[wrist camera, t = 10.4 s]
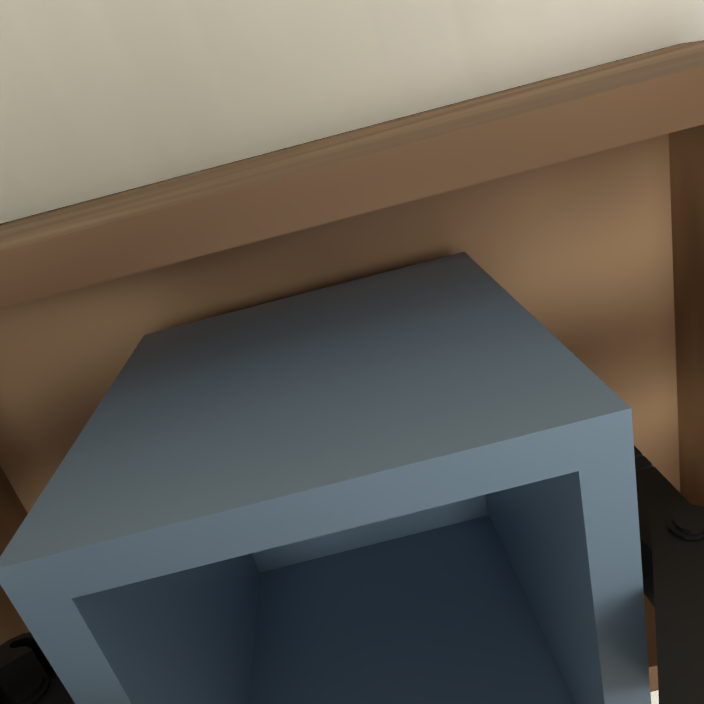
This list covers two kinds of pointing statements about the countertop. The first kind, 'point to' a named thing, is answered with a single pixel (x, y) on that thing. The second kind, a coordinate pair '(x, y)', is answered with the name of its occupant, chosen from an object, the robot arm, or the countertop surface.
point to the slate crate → (345, 511)
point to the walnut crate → (391, 254)
